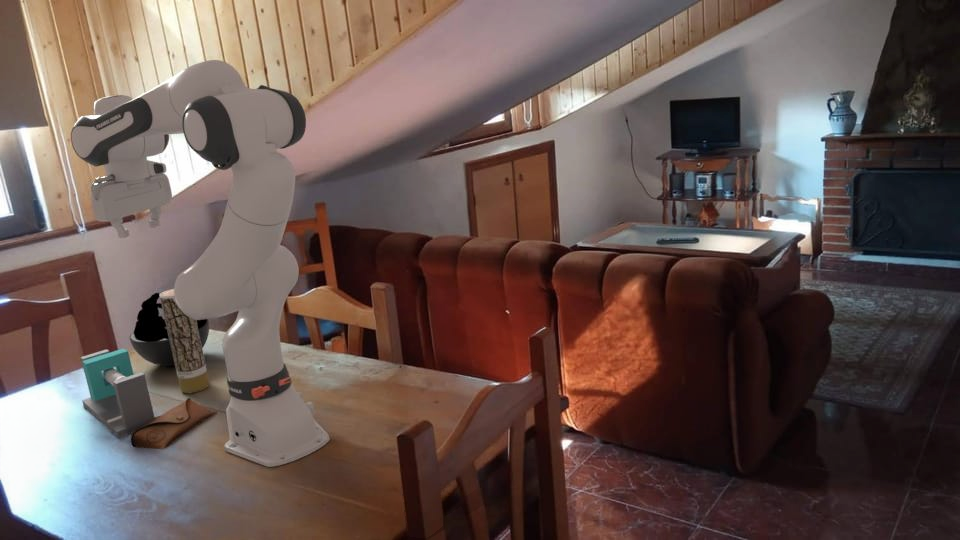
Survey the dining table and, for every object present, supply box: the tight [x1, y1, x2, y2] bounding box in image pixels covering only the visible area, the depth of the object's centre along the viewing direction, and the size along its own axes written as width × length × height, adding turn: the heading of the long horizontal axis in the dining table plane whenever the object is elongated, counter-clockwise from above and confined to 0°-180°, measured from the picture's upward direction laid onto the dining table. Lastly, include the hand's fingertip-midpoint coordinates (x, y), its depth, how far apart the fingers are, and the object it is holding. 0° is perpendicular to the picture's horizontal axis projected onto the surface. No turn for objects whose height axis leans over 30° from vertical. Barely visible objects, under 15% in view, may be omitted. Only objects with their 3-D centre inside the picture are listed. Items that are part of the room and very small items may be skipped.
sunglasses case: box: [130, 397, 218, 451], centre depth 161 cm, size 18×7×7 cm, turn 160°
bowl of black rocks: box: [128, 292, 210, 367], centre depth 198 cm, size 20×20×19 cm
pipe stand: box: [80, 349, 164, 439], centre depth 171 cm, size 26×10×12 cm, turn 43°
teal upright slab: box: [81, 347, 134, 401], centre depth 172 cm, size 3×9×9 cm, turn 133°
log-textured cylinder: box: [159, 288, 210, 394], centre depth 179 cm, size 7×7×25 cm
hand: (140, 232), depth 167 cm, fingers open, 8 cm apart
